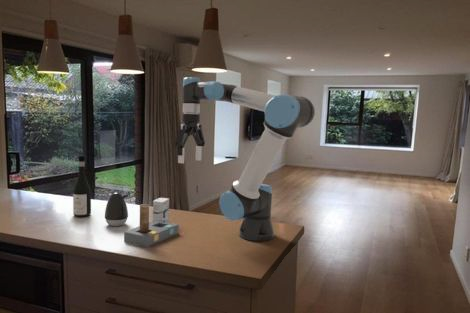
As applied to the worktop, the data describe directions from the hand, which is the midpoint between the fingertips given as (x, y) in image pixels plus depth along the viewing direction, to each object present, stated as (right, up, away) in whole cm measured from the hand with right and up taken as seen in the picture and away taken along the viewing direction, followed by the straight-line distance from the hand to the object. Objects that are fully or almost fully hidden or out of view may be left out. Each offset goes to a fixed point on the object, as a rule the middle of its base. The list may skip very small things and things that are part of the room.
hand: (190, 161), depth 165 cm
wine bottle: (-56, -27, +19) cm, 65 cm away
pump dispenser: (-34, -29, +6) cm, 46 cm away
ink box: (-15, -30, +9) cm, 34 cm away
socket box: (-15, -31, -10) cm, 36 cm away
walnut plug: (-17, -31, -14) cm, 38 cm away
